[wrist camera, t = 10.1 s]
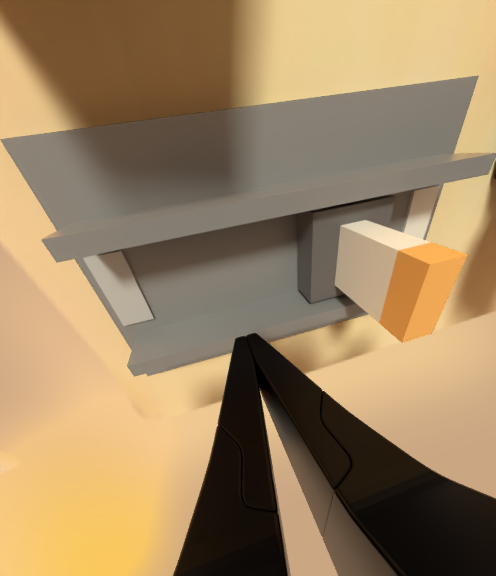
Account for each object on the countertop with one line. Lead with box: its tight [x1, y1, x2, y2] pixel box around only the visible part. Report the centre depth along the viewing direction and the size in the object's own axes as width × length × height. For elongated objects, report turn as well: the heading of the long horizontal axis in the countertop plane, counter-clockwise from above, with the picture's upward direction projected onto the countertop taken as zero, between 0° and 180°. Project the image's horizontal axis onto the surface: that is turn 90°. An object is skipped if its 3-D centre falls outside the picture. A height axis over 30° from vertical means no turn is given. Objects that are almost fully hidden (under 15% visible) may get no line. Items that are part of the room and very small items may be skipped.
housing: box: [0, 76, 496, 377], centre depth 14 cm, size 24×16×4 cm, turn 98°
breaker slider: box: [297, 195, 467, 343], centre depth 12 cm, size 5×6×7 cm
